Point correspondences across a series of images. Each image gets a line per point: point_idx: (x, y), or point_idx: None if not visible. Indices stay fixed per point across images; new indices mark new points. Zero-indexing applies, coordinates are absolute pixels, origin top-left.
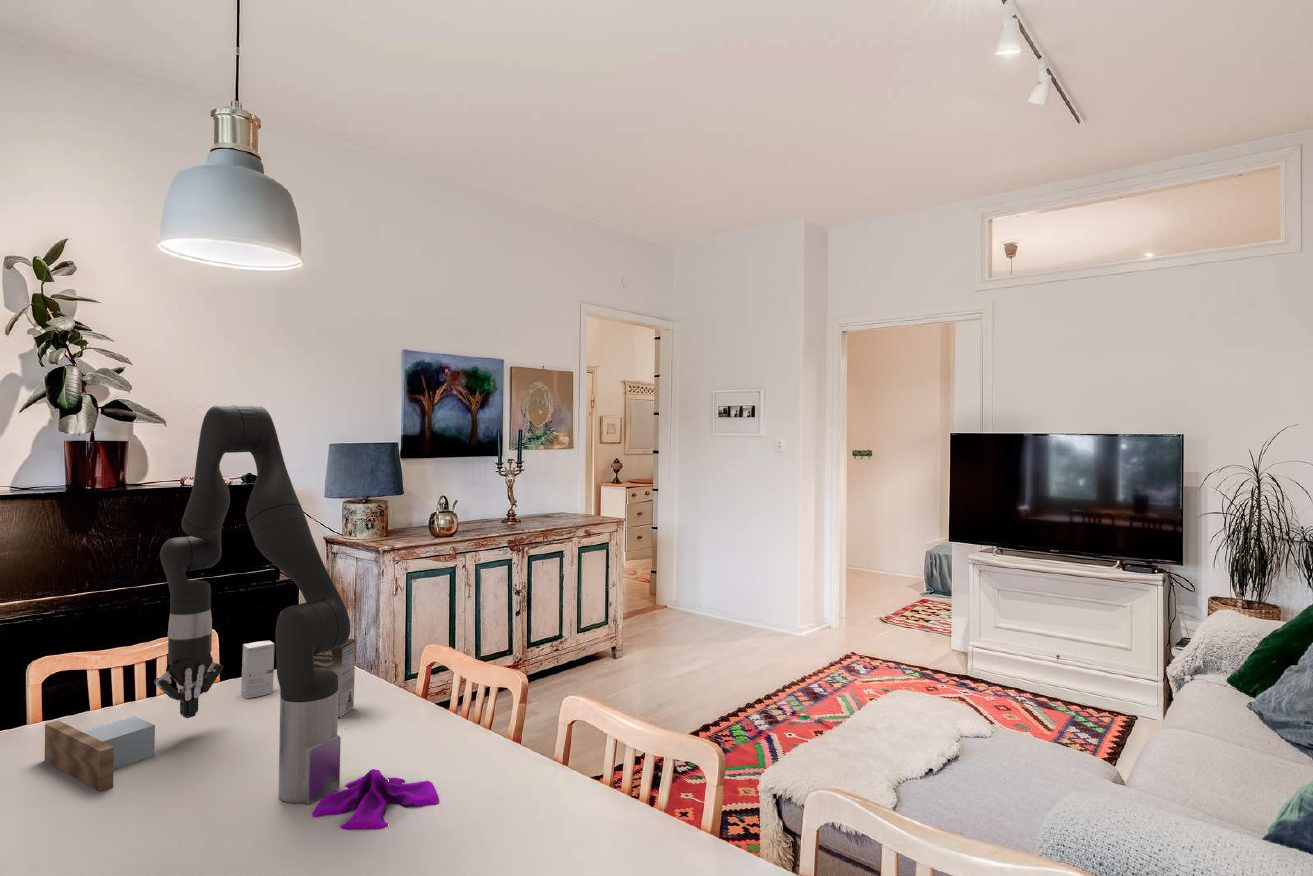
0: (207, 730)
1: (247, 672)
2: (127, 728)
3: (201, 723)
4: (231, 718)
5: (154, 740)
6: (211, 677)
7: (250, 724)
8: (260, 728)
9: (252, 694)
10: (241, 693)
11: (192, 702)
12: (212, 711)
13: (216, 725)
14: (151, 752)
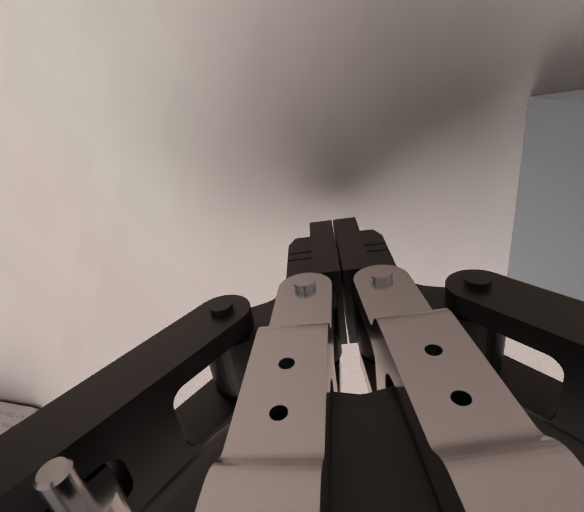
0: (244, 211)
1: None
2: None
3: None
4: (125, 268)
5: (579, 102)
6: (132, 394)
7: (64, 124)
8: (24, 14)
9: (5, 414)
10: None
11: (336, 260)
12: None
13: (197, 239)
14: (554, 96)
